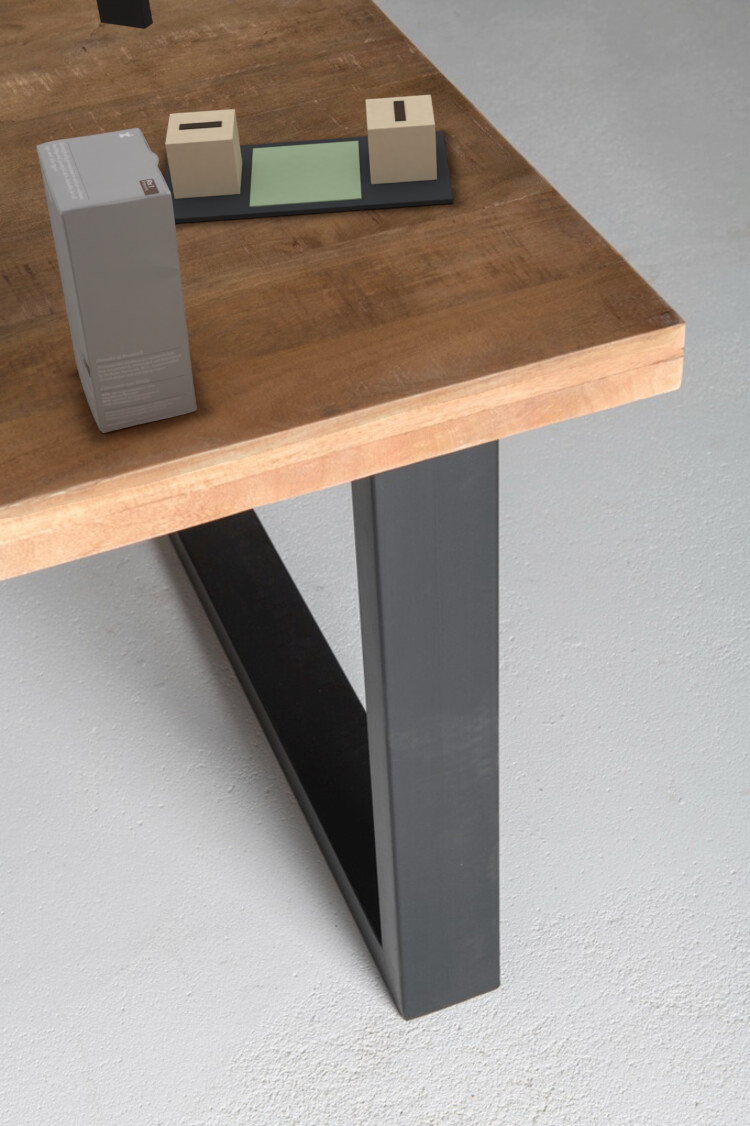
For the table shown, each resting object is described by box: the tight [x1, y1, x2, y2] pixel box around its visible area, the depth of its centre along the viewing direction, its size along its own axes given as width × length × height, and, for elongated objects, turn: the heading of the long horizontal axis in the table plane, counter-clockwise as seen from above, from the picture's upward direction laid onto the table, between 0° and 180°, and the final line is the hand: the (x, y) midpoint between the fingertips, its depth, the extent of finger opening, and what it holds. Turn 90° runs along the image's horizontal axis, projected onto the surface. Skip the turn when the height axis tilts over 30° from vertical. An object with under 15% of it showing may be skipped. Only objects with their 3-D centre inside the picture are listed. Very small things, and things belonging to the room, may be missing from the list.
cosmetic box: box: [36, 127, 198, 434], centre depth 85 cm, size 8×7×16 cm
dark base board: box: [164, 94, 454, 224], centre depth 108 cm, size 22×11×5 cm, turn 92°
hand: (49, 79), depth 68 cm, fingers open, 13 cm apart
